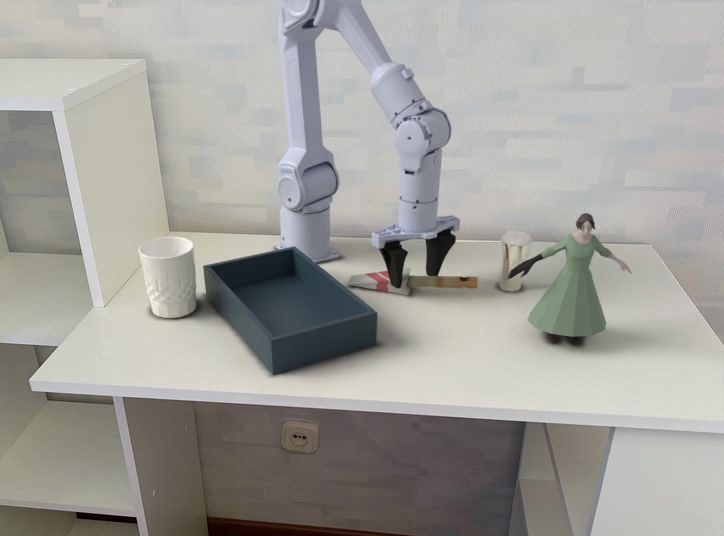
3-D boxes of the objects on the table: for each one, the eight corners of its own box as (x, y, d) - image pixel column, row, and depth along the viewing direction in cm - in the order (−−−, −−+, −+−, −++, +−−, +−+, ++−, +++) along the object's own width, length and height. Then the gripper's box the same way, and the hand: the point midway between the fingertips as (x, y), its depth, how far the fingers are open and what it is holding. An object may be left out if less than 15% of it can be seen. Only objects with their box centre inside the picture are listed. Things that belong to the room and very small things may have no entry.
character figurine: (500, 351, 95) (519, 224, 85) (494, 321, 102) (510, 201, 92) (624, 356, 93) (656, 227, 84) (608, 326, 100) (637, 203, 91)
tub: (205, 295, 111) (202, 265, 108) (295, 274, 116) (294, 245, 114) (272, 374, 91) (271, 340, 88) (376, 345, 97) (377, 312, 94)
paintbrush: (351, 265, 114) (478, 268, 108) (352, 280, 115) (478, 284, 109) (345, 278, 111) (476, 281, 105) (347, 293, 112) (476, 297, 106)
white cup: (137, 309, 107) (127, 248, 102) (178, 291, 112) (171, 232, 107) (169, 326, 102) (160, 262, 97) (211, 306, 107) (204, 245, 102)
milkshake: (518, 298, 108) (527, 236, 103) (489, 286, 111) (496, 227, 106) (535, 289, 110) (545, 228, 105) (506, 278, 114) (514, 219, 109)
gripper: (391, 214, 97) (387, 301, 104) (476, 196, 103) (467, 280, 110) (365, 199, 103) (363, 283, 110) (446, 183, 108) (440, 264, 115)
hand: (413, 281), depth 110 cm, fingers open, 6 cm apart
